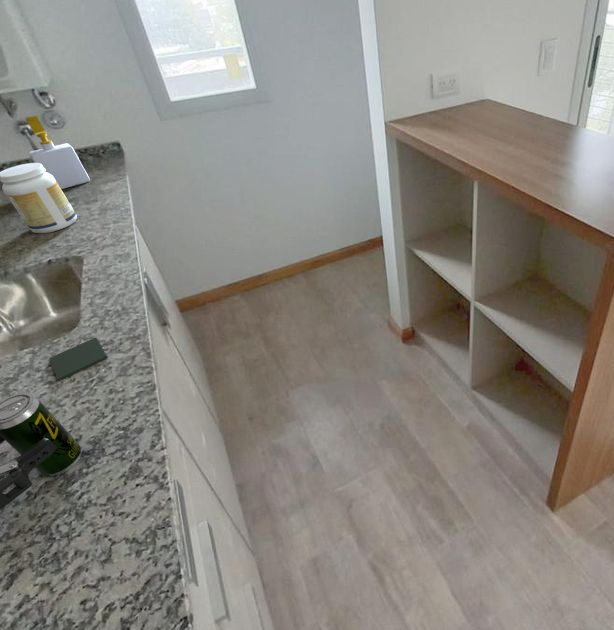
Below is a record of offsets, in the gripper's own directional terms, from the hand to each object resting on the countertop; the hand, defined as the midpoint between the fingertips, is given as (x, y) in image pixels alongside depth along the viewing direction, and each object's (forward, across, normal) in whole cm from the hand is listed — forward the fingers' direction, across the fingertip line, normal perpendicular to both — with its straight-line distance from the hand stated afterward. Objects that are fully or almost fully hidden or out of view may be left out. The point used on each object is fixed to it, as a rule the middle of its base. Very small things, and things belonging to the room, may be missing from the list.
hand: (34, 431), depth 60 cm
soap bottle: (+72, +119, +8) cm, 139 cm away
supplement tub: (+49, +88, +7) cm, 100 cm away
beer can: (0, 0, +7) cm, 7 cm away
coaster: (+15, +20, +7) cm, 26 cm away
